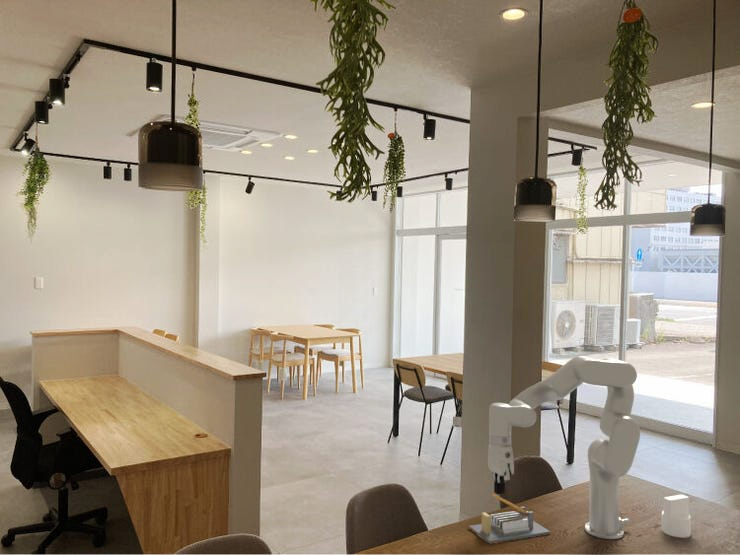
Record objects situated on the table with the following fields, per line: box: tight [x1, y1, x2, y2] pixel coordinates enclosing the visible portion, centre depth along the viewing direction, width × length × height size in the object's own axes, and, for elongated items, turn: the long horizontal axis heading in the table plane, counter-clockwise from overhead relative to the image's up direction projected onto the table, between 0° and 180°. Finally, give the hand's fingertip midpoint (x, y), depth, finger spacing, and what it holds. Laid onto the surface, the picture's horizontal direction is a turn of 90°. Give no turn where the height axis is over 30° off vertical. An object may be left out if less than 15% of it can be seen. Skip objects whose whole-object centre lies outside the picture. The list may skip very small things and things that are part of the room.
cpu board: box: [468, 506, 551, 544], centre depth 205 cm, size 24×13×7 cm, turn 110°
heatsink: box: [490, 510, 529, 536], centre depth 205 cm, size 10×9×4 cm
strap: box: [491, 493, 529, 517], centre depth 206 cm, size 16×3×1 cm, turn 109°
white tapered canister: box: [661, 494, 692, 538], centre depth 206 cm, size 9×9×12 cm
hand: (499, 493), depth 204 cm, fingers closed
